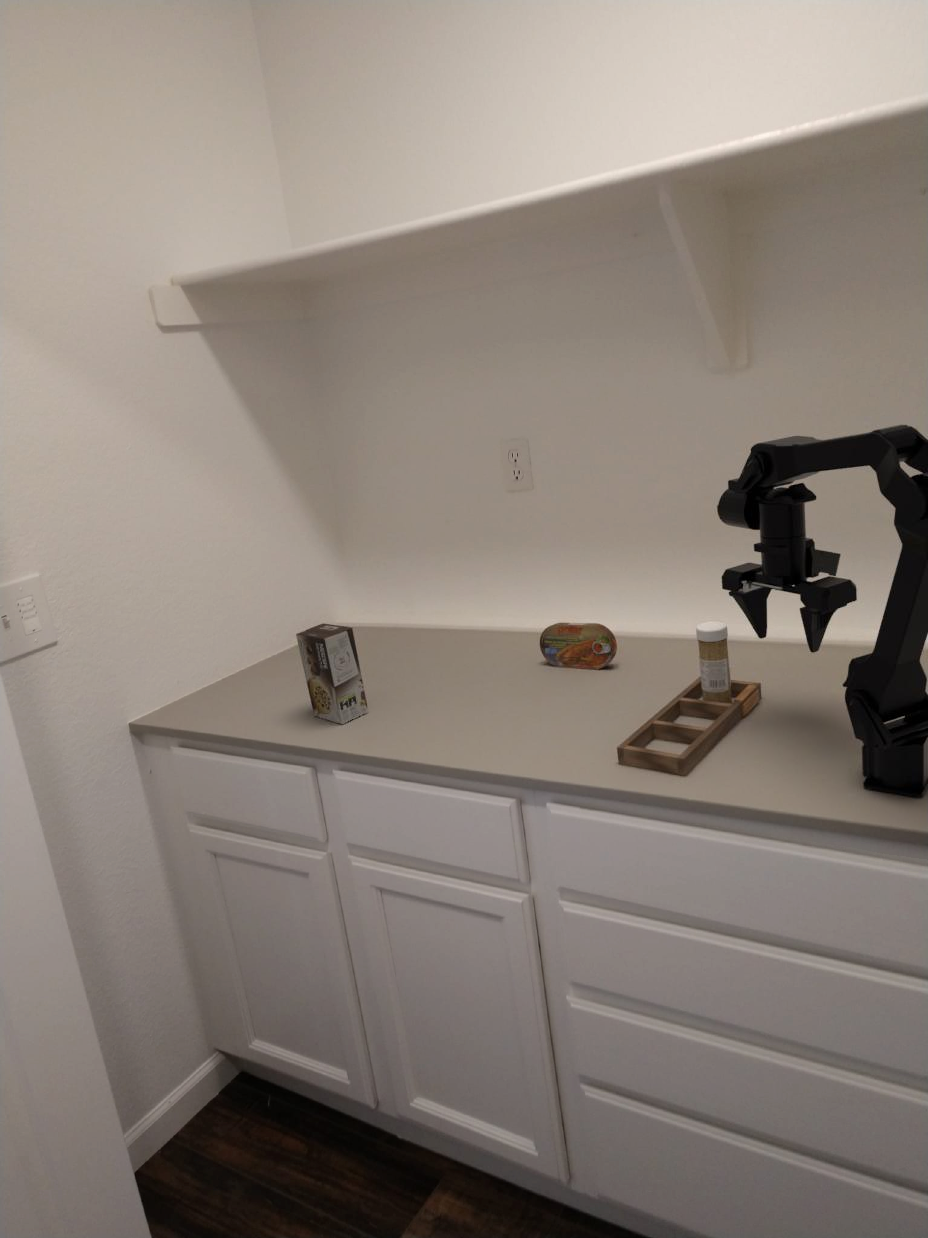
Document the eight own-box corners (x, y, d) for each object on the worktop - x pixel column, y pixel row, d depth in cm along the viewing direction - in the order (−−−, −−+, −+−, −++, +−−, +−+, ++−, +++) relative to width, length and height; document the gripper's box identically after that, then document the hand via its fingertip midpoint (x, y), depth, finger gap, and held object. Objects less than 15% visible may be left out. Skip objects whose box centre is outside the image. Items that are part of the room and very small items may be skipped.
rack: (764, 698, 133) (763, 681, 132) (688, 776, 113) (686, 757, 112) (700, 690, 140) (699, 674, 139) (618, 763, 119) (616, 745, 118)
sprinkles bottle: (735, 702, 133) (729, 620, 130) (729, 713, 129) (724, 630, 126) (705, 700, 135) (699, 620, 132) (699, 712, 132) (692, 630, 128)
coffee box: (370, 712, 153) (354, 627, 148) (341, 725, 148) (324, 638, 144) (340, 703, 159) (323, 621, 155) (312, 716, 155) (294, 632, 151)
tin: (541, 666, 163) (536, 624, 160) (549, 660, 165) (543, 619, 163) (614, 671, 154) (609, 627, 152) (621, 665, 157) (616, 622, 154)
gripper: (885, 527, 108) (887, 643, 112) (774, 516, 125) (779, 617, 129) (823, 546, 104) (826, 666, 108) (715, 532, 120) (722, 636, 124)
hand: (787, 644), depth 117 cm, fingers open, 9 cm apart
